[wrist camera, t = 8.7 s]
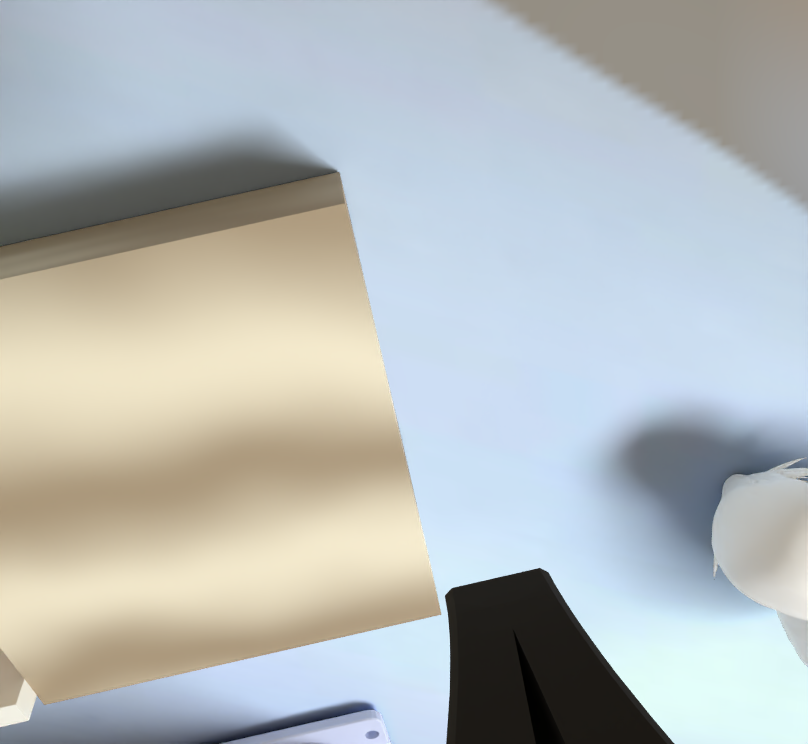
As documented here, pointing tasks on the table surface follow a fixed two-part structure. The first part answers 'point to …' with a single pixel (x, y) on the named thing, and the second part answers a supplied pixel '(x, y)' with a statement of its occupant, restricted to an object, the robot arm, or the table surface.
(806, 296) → the table surface
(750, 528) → the white figurine
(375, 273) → the table surface
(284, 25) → the table surface
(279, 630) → the thin cream square panel
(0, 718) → the tray
